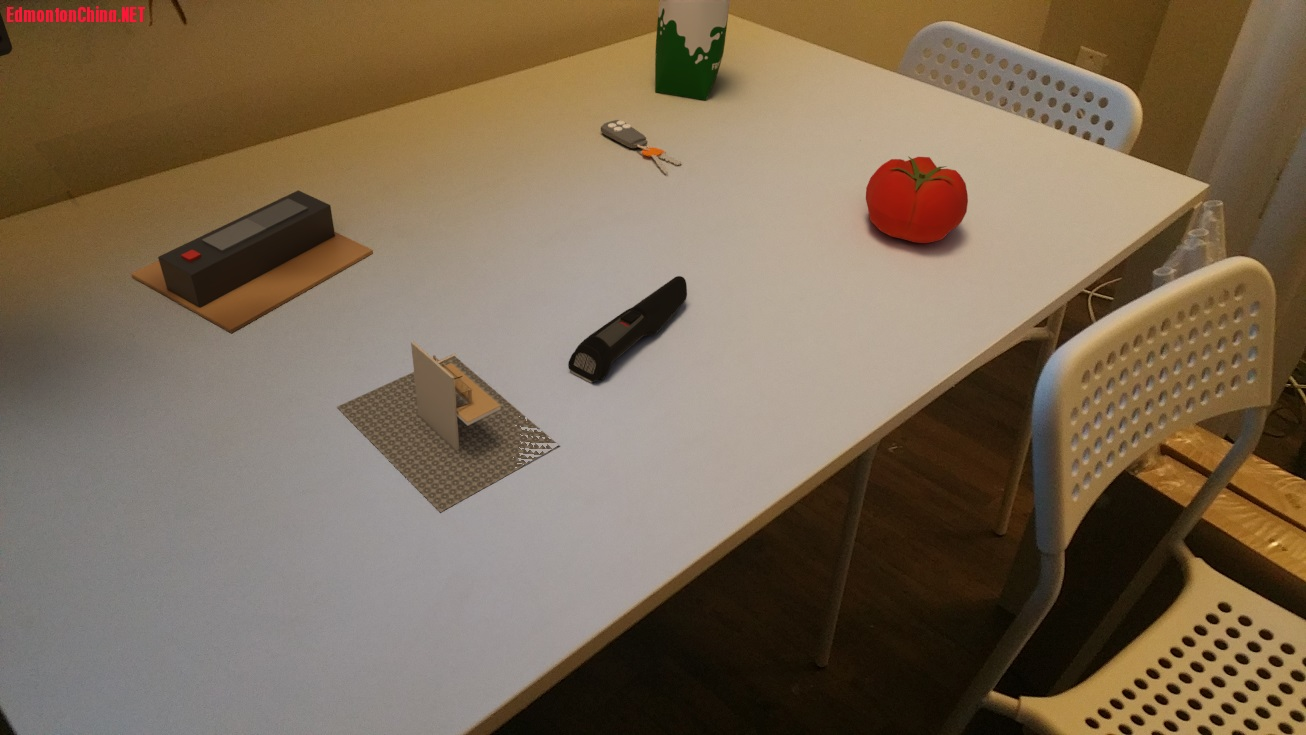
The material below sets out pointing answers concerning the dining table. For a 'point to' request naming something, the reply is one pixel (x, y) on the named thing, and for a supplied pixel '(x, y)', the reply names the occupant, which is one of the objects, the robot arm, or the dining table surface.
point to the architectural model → (444, 429)
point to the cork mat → (267, 283)
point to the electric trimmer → (626, 331)
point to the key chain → (635, 141)
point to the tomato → (916, 199)
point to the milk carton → (689, 46)
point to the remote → (246, 248)
